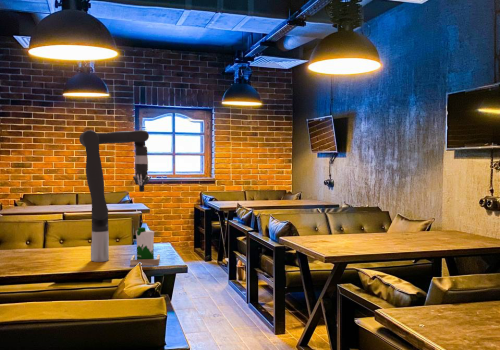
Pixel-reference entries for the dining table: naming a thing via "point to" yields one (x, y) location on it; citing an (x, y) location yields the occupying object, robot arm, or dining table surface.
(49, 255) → the dining table surface
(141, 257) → the soya milk
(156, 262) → the stop tray
